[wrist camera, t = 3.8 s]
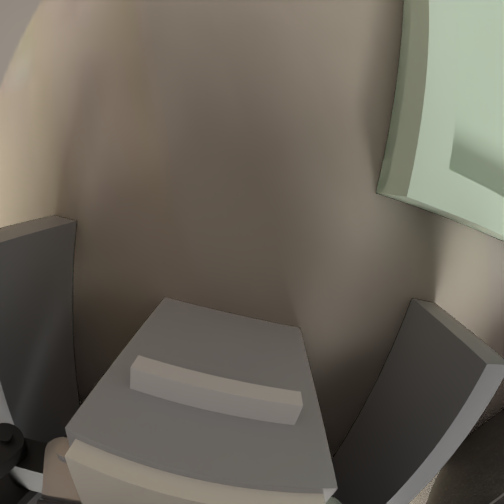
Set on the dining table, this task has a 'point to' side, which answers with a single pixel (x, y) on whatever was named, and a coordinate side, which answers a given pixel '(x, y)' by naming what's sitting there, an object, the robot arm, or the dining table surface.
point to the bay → (359, 437)
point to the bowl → (474, 468)
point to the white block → (203, 416)
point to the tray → (449, 113)
